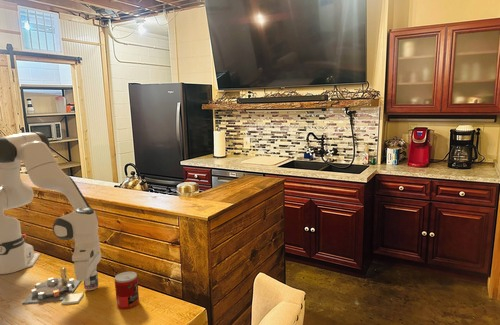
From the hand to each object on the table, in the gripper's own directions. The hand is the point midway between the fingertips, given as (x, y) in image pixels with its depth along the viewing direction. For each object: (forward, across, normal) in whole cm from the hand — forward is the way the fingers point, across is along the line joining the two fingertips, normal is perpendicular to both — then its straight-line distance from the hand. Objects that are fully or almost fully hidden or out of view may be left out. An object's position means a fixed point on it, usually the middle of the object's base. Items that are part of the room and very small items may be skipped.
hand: (90, 280), depth 141 cm
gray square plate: (+4, -1, -15) cm, 15 cm away
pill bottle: (+3, 0, 0) cm, 3 cm away
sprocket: (+4, -1, -15) cm, 15 cm away
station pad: (+4, +7, -5) cm, 9 cm away
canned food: (+4, +14, +17) cm, 23 cm away
